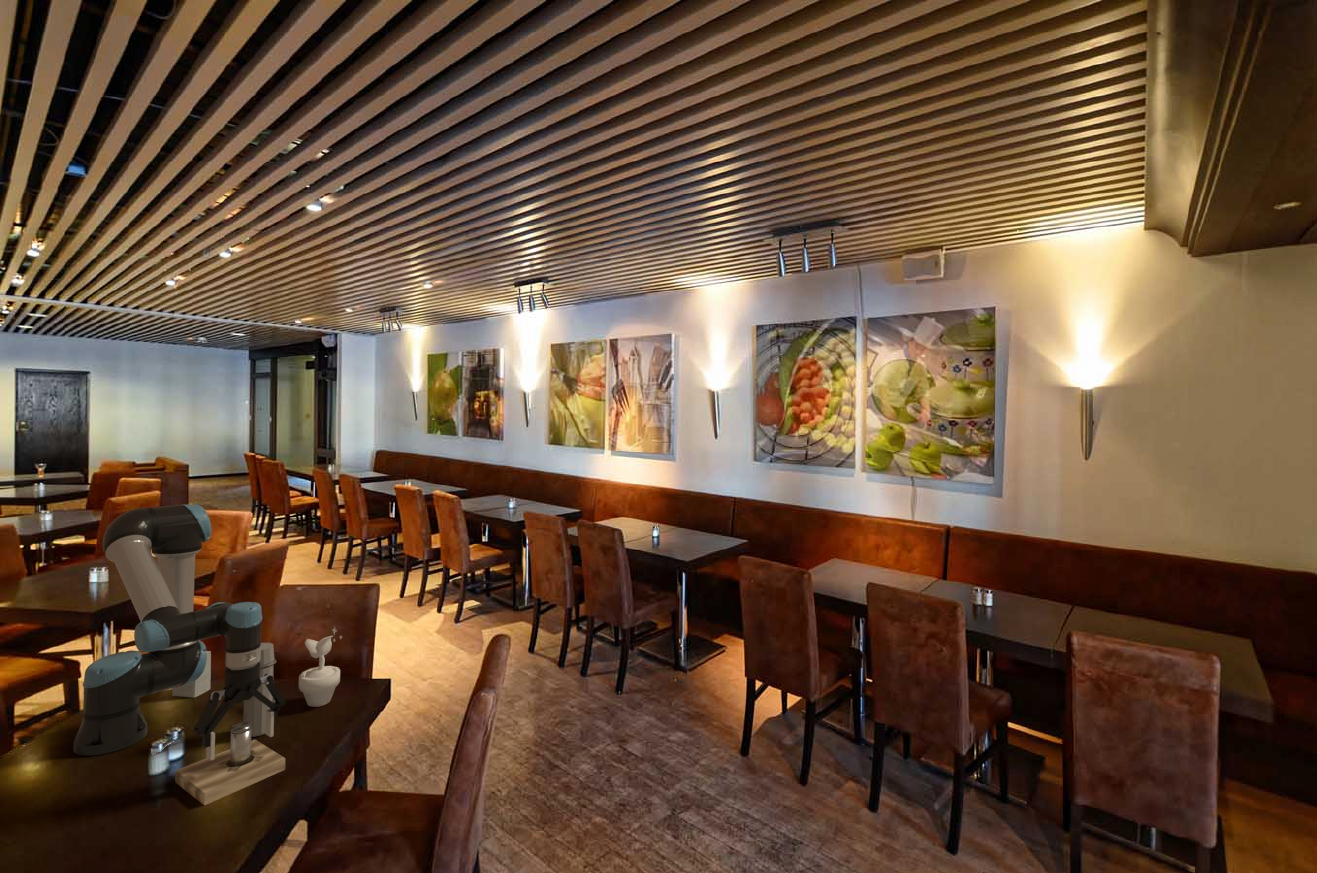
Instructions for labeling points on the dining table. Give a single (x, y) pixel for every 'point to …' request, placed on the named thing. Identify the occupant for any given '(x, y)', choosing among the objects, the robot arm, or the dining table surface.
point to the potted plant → (319, 674)
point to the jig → (228, 773)
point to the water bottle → (255, 707)
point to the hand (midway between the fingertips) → (240, 746)
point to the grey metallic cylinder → (240, 744)
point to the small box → (196, 683)
